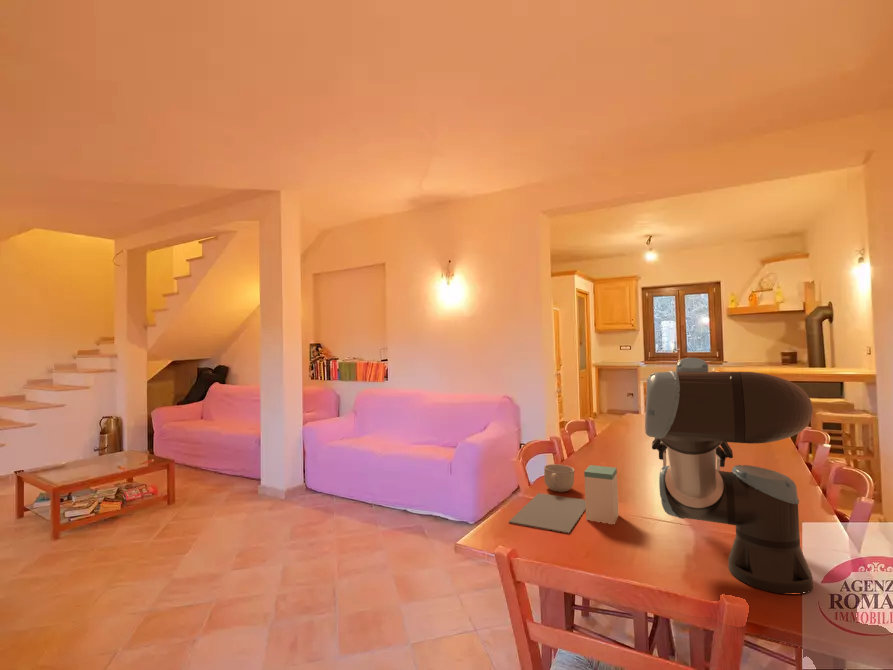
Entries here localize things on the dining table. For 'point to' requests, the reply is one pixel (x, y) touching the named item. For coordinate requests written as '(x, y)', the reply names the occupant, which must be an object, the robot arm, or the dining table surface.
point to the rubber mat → (551, 513)
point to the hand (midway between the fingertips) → (690, 470)
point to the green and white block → (601, 494)
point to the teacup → (559, 477)
